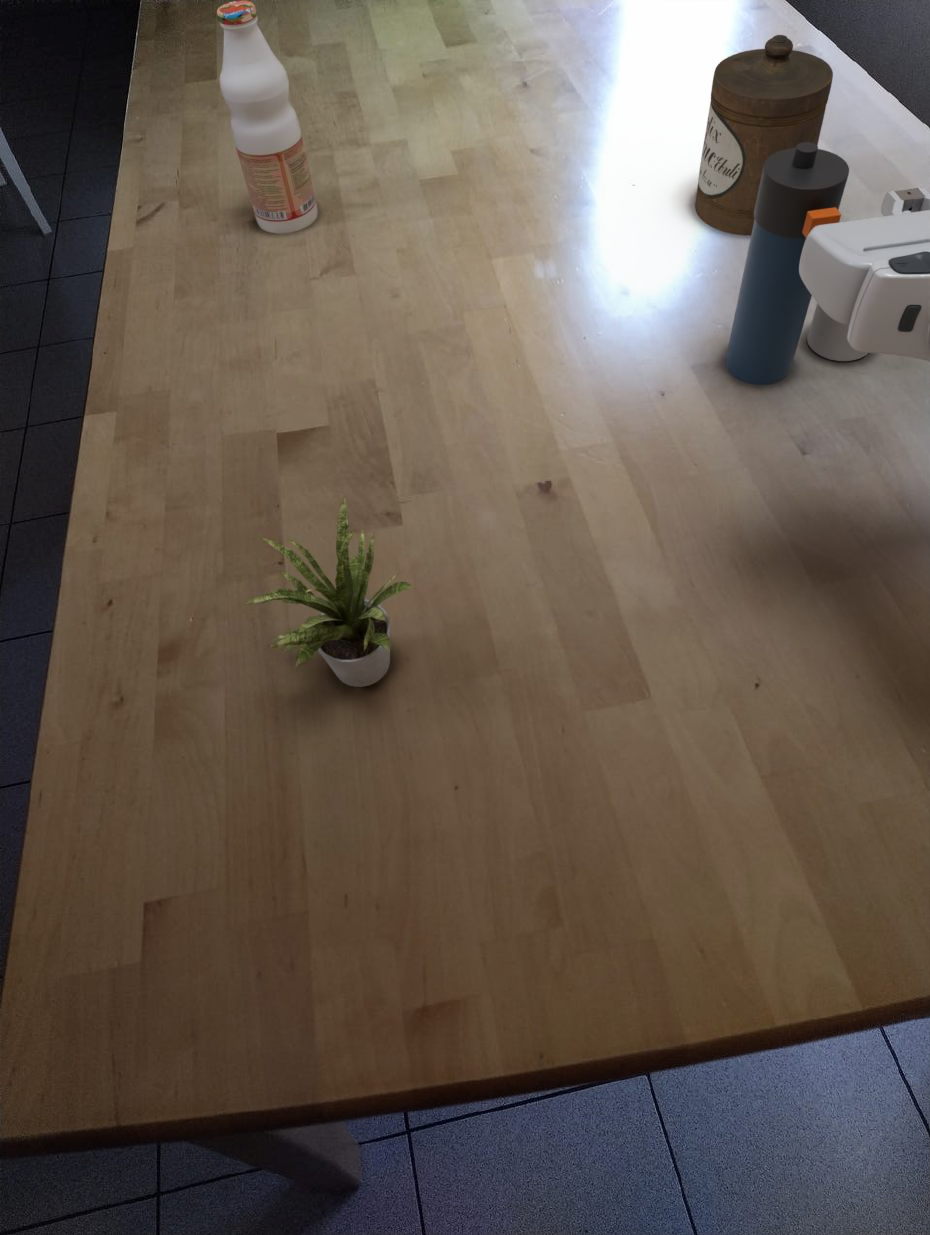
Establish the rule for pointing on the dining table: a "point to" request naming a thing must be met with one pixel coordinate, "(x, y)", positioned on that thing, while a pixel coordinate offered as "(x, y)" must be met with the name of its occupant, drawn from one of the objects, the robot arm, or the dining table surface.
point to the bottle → (780, 261)
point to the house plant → (340, 611)
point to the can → (830, 338)
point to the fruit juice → (264, 124)
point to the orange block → (820, 218)
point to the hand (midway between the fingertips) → (900, 198)
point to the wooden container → (756, 126)
